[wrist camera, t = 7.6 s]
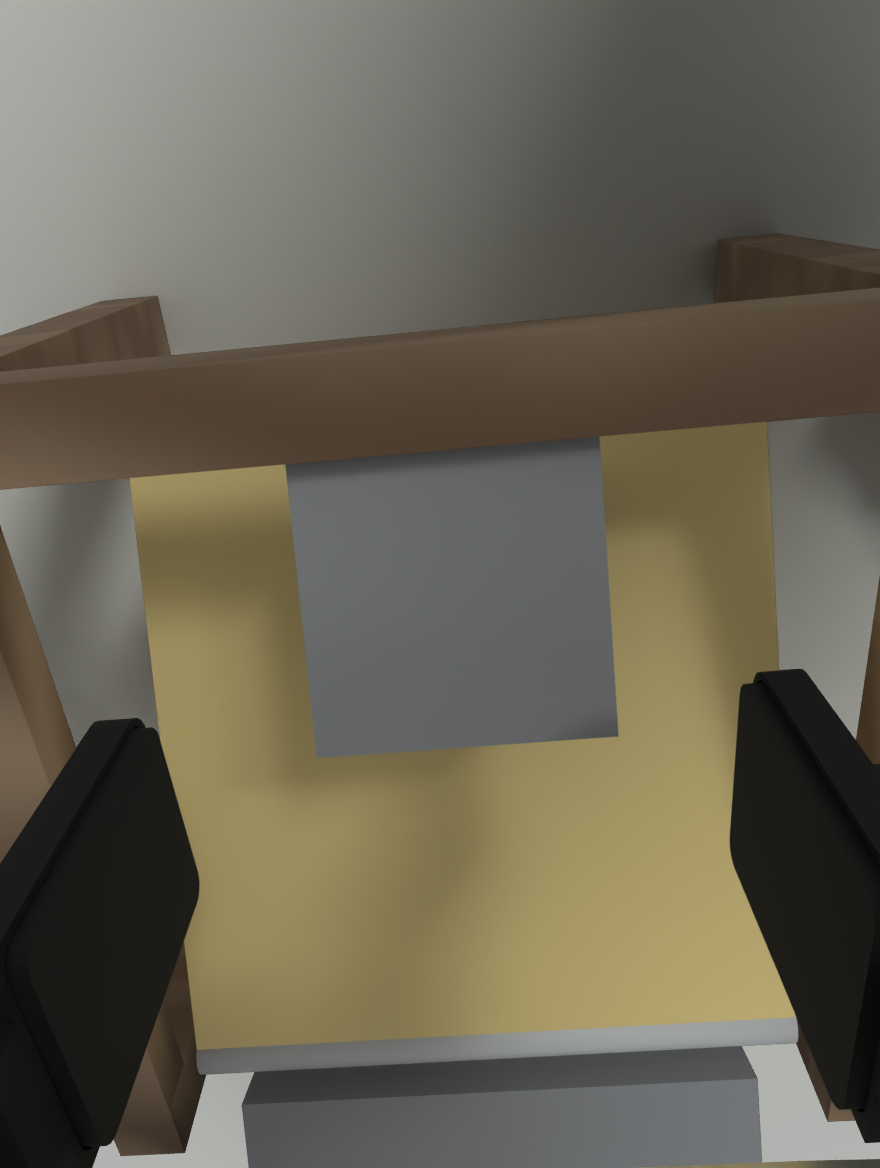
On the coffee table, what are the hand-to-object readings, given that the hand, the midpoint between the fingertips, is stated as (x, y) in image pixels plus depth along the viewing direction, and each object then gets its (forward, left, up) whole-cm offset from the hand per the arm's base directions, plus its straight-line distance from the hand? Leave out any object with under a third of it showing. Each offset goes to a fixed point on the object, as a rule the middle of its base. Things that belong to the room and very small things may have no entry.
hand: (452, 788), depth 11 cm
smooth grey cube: (0, 0, -8) cm, 8 cm away
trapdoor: (+9, 0, -8) cm, 12 cm away
